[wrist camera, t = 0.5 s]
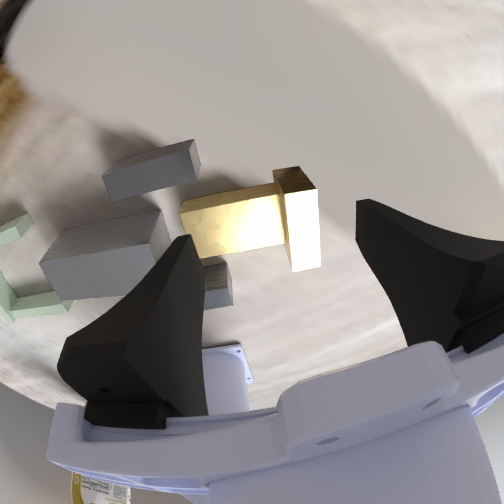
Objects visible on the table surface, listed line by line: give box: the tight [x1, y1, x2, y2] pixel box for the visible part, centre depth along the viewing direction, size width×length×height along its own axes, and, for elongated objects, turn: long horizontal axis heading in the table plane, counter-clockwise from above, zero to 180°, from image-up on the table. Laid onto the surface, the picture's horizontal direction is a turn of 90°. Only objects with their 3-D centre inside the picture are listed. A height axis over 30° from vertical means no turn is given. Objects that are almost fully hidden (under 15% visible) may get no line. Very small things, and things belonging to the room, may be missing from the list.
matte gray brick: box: [39, 210, 171, 301], centre depth 20 cm, size 4×10×5 cm, turn 96°
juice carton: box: [71, 401, 130, 504], centre depth 31 cm, size 9×8×24 cm
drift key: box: [179, 166, 320, 272], centre depth 20 cm, size 6×9×4 cm, turn 100°
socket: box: [102, 139, 233, 310], centre depth 21 cm, size 13×6×3 cm, turn 9°
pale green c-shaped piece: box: [0, 213, 73, 322], centre depth 21 cm, size 10×12×3 cm
